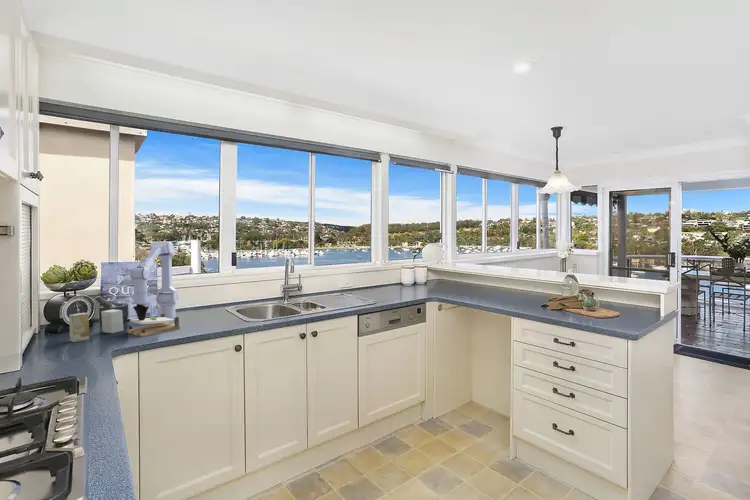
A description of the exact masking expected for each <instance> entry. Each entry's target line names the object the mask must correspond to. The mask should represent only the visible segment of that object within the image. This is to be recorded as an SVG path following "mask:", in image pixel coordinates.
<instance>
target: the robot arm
mask: <svg viewBox="0 0 750 500" xmlns="http://www.w3.org/2000/svg"><path fill="white" fill-rule="evenodd" d="M149 246H150V247H149V249H150V251H149V252H148V254H147V256H146V257H143V258H142V260H140V262H139V263H138V265H137V266H136V267H134V268H132V269H131V271H130V274H129V277H130V280H131V283H132V286H133V289H132V290H133V300H131V303H130V304H131V305H134V306H133V310H134V311H135V313H136V317H137V319H139V320H140V321H141V320H145V318H146V315H147V311H148V309H149V307H151V302H150V301H149V297H148V279H149V277H150V273H151V270H152V269H153V267H154V265H155V260H156V259H157V258H160V261H161V287H160V289H158V290H156V291H157V292H156V299H155V300H156V304H157V305H158V308H157V317H161V314H165V317H167V318H171V319H174V317H177V316H176V304H178V302H179V298H180V297H179V294H178V293H179V292H178V289H176V288H175V287H173V269H172V268H173V266H172V264H173V263H172V262H173V257H174V256H175V247H174V244H173V242H171V241H158V242H157V241H152V242H151V244H150V245H149Z"/></svg>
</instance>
